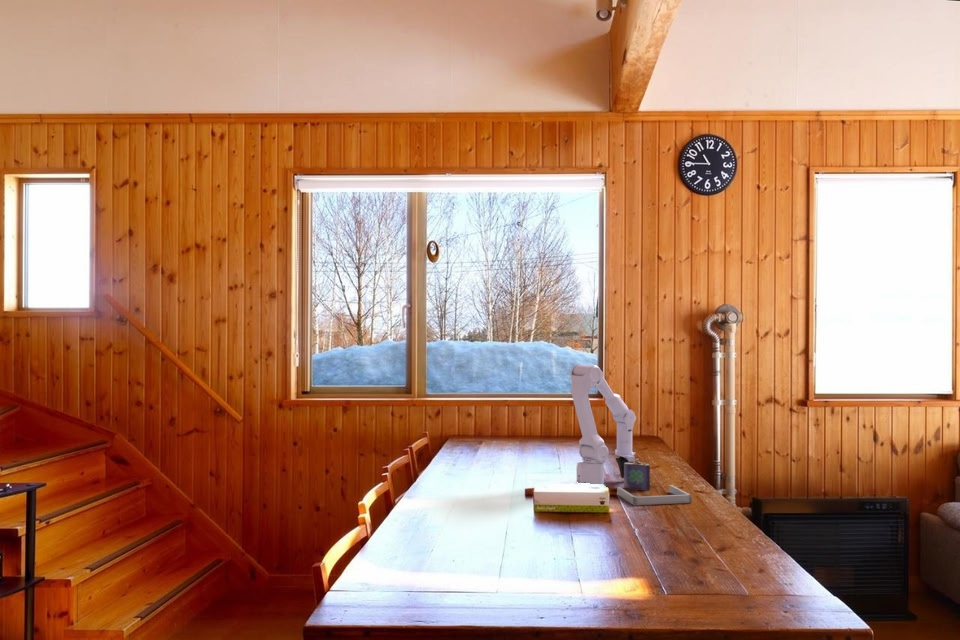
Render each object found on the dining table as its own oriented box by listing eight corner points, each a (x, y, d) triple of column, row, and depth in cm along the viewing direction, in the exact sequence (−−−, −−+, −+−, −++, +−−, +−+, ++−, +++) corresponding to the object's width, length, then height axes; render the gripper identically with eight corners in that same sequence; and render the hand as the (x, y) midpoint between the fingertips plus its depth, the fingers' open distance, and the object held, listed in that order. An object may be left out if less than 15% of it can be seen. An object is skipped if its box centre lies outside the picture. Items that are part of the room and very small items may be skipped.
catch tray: (633, 505, 238) (633, 497, 238) (617, 494, 253) (617, 487, 253) (691, 502, 242) (691, 495, 242) (671, 492, 256) (671, 484, 256)
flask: (623, 488, 262) (623, 458, 262) (625, 486, 265) (625, 456, 265) (649, 491, 258) (649, 460, 258) (650, 489, 261) (651, 459, 261)
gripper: (642, 443, 267) (642, 481, 267) (627, 437, 281) (627, 473, 281) (623, 444, 266) (623, 482, 266) (609, 438, 280) (609, 473, 280)
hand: (624, 477), depth 273 cm, fingers closed
